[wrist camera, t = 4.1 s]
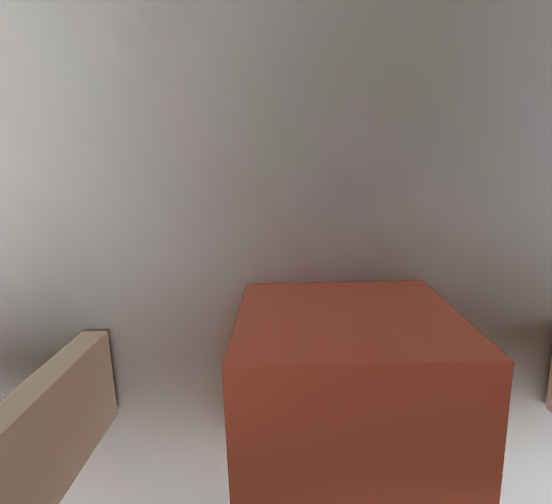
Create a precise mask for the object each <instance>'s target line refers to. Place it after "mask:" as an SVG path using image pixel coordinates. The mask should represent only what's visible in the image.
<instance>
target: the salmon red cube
mask: <svg viewBox="0 0 552 504" xmlns="http://www.w3.org/2000/svg"><path fill="white" fill-rule="evenodd" d="M513 365H514V361H513V360H511V359H510V358H509V357H508V356H507V355H506V354H505V353H504V352H502V351H501V350H500V349H499V348H498V347H497V346H496V345H495V344H494V343H492V342H491V341H490V340H489V339H488V338H487V337H486V336H485V335H483V334H482V333H481V332H480V331H479V330H478V329H477V328H476V327H474V326H473V325H472V324H471V323H470V322H469V321H468V320H467V319H465V318H464V317H463V316H462V315H461V314H460V313H459V312H458V311H457V310H455V309H454V308H453V307H452V306H451V305H450V304H449V303H448V302H446V301H445V300H444V299H443V298H442V297H441V296H440V295H439V294H437V293H436V292H435V291H434V290H433V289H432V288H431V287H430V286H429V285H427V284H426V283H425V282H424V281H423V280H398V281H350V282H302V283H254V284H247V286H246V289H245V292H244V295H243V299H242V302H241V305H240V308H239V312H238V315H237V318H236V321H235V325H234V328H233V331H232V334H231V338H230V341H229V344H228V347H227V351H226V354H225V357H224V360H223V364H222V378H223V395H224V411H225V427H226V443H227V459H228V476H229V492H230V504H499V501H500V492H501V482H502V472H503V462H504V453H505V443H506V433H507V423H508V414H509V404H510V394H511V384H512V375H513Z"/></svg>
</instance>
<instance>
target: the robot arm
mask: <svg viewBox="0 0 552 504" xmlns="http://www.w3.org/2000/svg"><path fill="white" fill-rule="evenodd" d="M546 408H547V409H548V410H549V411H550V412H551V413H552V357H551V366H550V374H549V382H548V390H547V399H546ZM117 414H118V411H117V403H116V395H115V387H114V379H113V370H112V362H111V354H110V346H109V338H108V331H82V332H81V333H79V334H78V335H77V336H76V337H75V338H74V339H72V340H71V341H70V342H69V343H68V344H67V345H65V346H64V347H63V348H62V349H61V350H59V351H58V352H57V353H56V354H55V355H54V356H52V357H51V358H50V359H49V360H48V361H47V362H45V363H44V364H43V365H42V366H41V367H39V368H38V369H37V370H36V371H35V372H34V373H32V374H31V375H30V376H29V377H28V378H27V379H25V380H24V381H23V382H22V383H21V384H20V385H18V386H17V387H16V388H15V389H14V390H12V391H11V392H10V393H9V394H8V395H7V396H5V397H4V398H3V399H2V400H1V401H0V504H59V503H60V501H61V500H62V498H63V497H64V495H65V493H66V492H67V490H68V489H69V487H70V486H71V484H72V483H73V481H74V480H75V478H76V477H77V475H78V474H79V472H80V471H81V469H82V467H83V466H84V464H85V463H86V461H87V460H88V458H89V457H90V455H91V454H92V452H93V451H94V449H95V448H96V446H97V445H98V443H99V441H100V440H101V438H102V437H103V435H104V434H105V432H106V431H107V429H108V428H109V426H110V425H111V423H112V422H113V420H114V419H115V417H116V415H117Z"/></svg>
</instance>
